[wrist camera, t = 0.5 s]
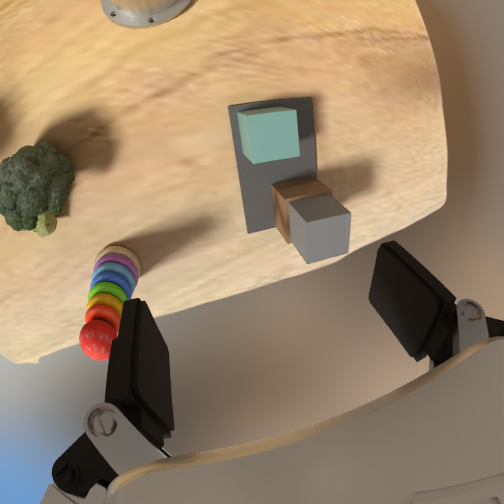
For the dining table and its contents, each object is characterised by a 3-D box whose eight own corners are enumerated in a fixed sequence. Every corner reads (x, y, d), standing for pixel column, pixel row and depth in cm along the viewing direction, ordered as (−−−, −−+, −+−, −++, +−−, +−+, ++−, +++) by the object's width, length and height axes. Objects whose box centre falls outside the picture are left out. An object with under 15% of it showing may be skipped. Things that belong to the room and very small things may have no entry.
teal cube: (236, 112, 33) (246, 115, 29) (279, 106, 34) (296, 109, 29) (242, 153, 37) (253, 164, 32) (283, 146, 38) (299, 156, 33)
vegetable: (5, 227, 30) (-27, 158, 18) (61, 184, 38) (48, 111, 26) (35, 277, 29) (-6, 209, 17) (97, 225, 37) (87, 145, 25)
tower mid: (288, 202, 36) (306, 222, 31) (328, 194, 37) (351, 212, 32) (290, 240, 39) (307, 264, 34) (328, 231, 40) (348, 252, 35)
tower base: (270, 184, 40) (284, 199, 36) (313, 176, 41) (331, 190, 36) (274, 224, 44) (287, 243, 40) (314, 215, 45) (331, 233, 40)
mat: (228, 106, 33) (228, 106, 33) (310, 97, 35) (311, 97, 34) (247, 232, 44) (248, 233, 44) (316, 216, 46) (317, 217, 46)
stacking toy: (131, 238, 40) (112, 329, 25) (147, 277, 45) (142, 371, 29) (89, 250, 39) (56, 339, 24) (107, 287, 44) (90, 377, 28)
